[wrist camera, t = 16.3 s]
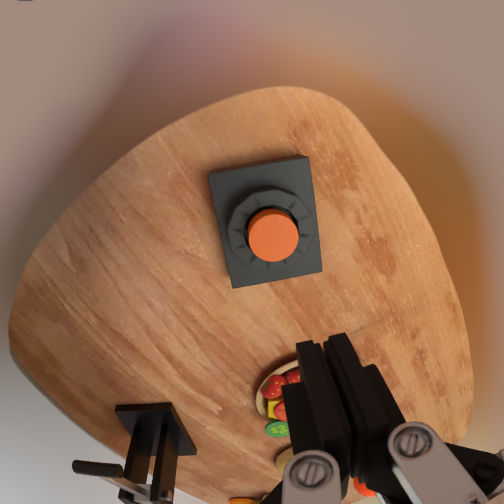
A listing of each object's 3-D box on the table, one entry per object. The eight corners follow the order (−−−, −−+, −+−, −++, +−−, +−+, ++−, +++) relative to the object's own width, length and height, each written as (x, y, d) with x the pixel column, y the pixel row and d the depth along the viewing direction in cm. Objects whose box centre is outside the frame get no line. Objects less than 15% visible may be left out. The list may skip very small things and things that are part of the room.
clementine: (396, 455, 45) (408, 484, 39) (372, 474, 47) (381, 502, 41) (366, 453, 44) (378, 485, 37) (342, 473, 46) (350, 504, 39)
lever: (73, 453, 22) (70, 475, 20) (117, 457, 22) (115, 481, 20) (134, 487, 29) (133, 504, 27) (170, 489, 29) (171, 506, 27)
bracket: (116, 405, 36) (92, 483, 24) (171, 402, 36) (158, 489, 24) (147, 450, 40) (135, 519, 28) (196, 448, 40) (192, 522, 28)
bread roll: (323, 435, 40) (329, 456, 36) (329, 461, 43) (334, 480, 40) (268, 448, 40) (271, 470, 37) (280, 473, 44) (283, 492, 40)
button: (243, 213, 24) (244, 219, 22) (290, 204, 24) (295, 210, 22) (252, 256, 25) (253, 265, 24) (296, 248, 25) (301, 256, 24)
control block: (209, 171, 26) (205, 178, 22) (303, 154, 26) (314, 158, 22) (232, 277, 30) (232, 299, 26) (316, 262, 30) (328, 280, 26)
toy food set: (368, 341, 34) (379, 359, 31) (353, 414, 39) (360, 431, 36) (252, 356, 33) (254, 376, 30) (257, 428, 38) (259, 446, 35)
